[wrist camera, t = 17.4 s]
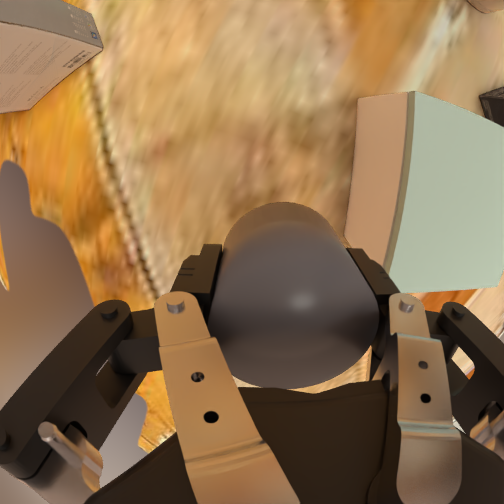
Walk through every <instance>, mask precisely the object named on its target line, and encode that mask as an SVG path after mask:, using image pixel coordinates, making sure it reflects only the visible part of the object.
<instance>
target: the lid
mask: <svg viewBox="0 0 504 504" xmlns="http://www.w3.org/2000/svg"><path fill="white" fill-rule="evenodd" d="M503 270H504V127H502V126H500V125H498V124H496V123H494V122H492V121H490V120H488V119H486V118H484V117H482V116H480V115H477V114H475V113H473V112H471V111H468V110H466V109H464V108H461V107H459V106H456V105H454V104H451V103H449V102H446V101H443V100H440V99H438V98H435V97H432V96H429V95H426V94H423V93H420V92H417V91H411V92H409V107H408V127H407V140H406V151H405V161H404V169H403V177H402V184H401V191H400V197H399V204H398V209H397V215H396V220H395V225H394V231H393V235H392V240H391V245H390V249H389V253H388V258H387V262H386V266H385V271H386V273H387V274H388V275H389V277H390V279H392V281H393V282H394V283H395V285H396V286H397V288H398V289H399V290H400V292H401V293H418V292H437V291H452V290H466V289H479V288H490V287H497V286H498V284H499V281H500V279H501V276H502V273H503Z"/></svg>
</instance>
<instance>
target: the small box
mask: <svg viewBox="0 0 504 504" xmlns="http://www.w3.org/2000/svg"><path fill="white" fill-rule="evenodd" d="M480 100H481V103H482V106H483V109H484V113H485V117H486V119H488V120H490V121H492V122H494V123H496V124H498V125H500V126H502V127H504V87H501V88H499V89H496V90H493V91H490V92H487V93H485V94H482V95H480Z"/></svg>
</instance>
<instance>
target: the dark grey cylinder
mask: <svg viewBox="0 0 504 504" xmlns="http://www.w3.org/2000/svg"><path fill="white" fill-rule="evenodd" d="M378 324H379V309H378V304H377V301H376V299H375V296H374V294H373V292H372V291H371V289H370V287H369V286H368V284H367V282H366V281H365V279H364V277H363V276H362V274H361V272H360V271H359V269H358V267H357V266H356V264H355V263H354V261H353V259H352V258H351V256H350V255H349V253H348V251H347V250H346V248H345V247H344V245H343V244H342V242H341V241H340V239H339V238H338V236H337V234H336V233H335V231H334V230H333V228H332V227H331V226H330V224H329V223H328V221H327V220H326V219H325V218H324V217H323V216H321V215H320V214H319V213H318V212H316V211H314V210H313V209H311V208H309V207H306V206H304V205H300V204H296V203H289V202H277V203H270V204H266V205H263V206H260V207H258V208H255V209H253V210H251V211H250V212H248V213H246V214H245V215H244V216H243V217H241V218H240V219H239V220H238V221H237V222H236V223H235V224H234V226H233V227H232V229H231V230H230V232H229V234H228V235H227V238H226V240H225V243H224V247H223V252H222V257H221V261H220V266H219V270H218V275H217V280H216V285H215V290H214V294H213V299H212V304H211V309H210V314H209V319H208V325H207V329H208V331H209V334H210V336H211V337H215V338H216V339H217V342H218V344H219V346H220V349H221V351H222V353H223V356H224V358H225V361H226V363H227V365H228V368H229V370H230V372H231V374H232V375H233V376H234V377H236V378H238V379H240V380H242V381H244V382H246V383H249V384H252V385H255V386H259V387H264V388H272V387H276V388H281V389H297V388H304V387H309V386H313V385H316V384H319V383H322V382H325V381H327V380H330V379H332V378H334V377H336V376H338V375H340V374H341V373H343V372H344V371H346V370H348V369H349V368H350V367H351V366H353V365H354V364H355V363H356V362H357V361H358V360H359V359H360V358H361V357H362V356H363V355H364V354H365V353H366V351H367V350H368V348H369V347H370V345H371V344H372V342H373V340H374V338H375V336H376V332H377V329H378Z"/></svg>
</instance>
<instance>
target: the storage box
mask: <svg viewBox="0 0 504 504" xmlns="http://www.w3.org/2000/svg"><path fill="white" fill-rule="evenodd" d="M408 107H409V92H401V93H392V94H384V95H377V96H370V97H363V98H358V104H357V123H356V137H355V149H354V160H353V170H352V179H351V188H350V196H349V204H348V211H347V218H346V225H345V231H344V237H345V238H346V239H347V241H348V242H349V244H350V245H351V247H352V248H362V249H363V250H364V251H365V253H366V254H367V255H368V257H369V258H370V259H372V260H374V261H376V262H377V263H378V264H380V265H381V266H382V267H383V268H384V270H385V266H386V262H387V258H388V253H389V249H390V245H391V240H392V235H393V231H394V225H395V220H396V215H397V209H398V204H399V197H400V191H401V184H402V177H403V169H404V161H405V151H406V140H407V127H408Z"/></svg>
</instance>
